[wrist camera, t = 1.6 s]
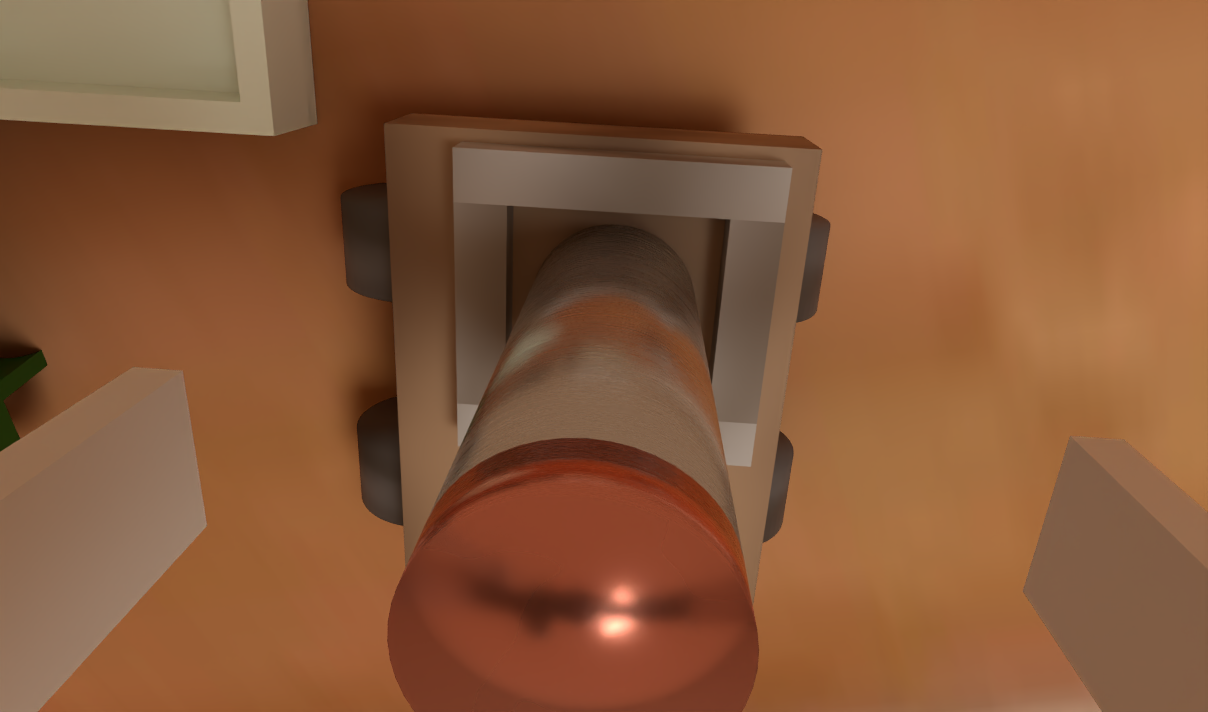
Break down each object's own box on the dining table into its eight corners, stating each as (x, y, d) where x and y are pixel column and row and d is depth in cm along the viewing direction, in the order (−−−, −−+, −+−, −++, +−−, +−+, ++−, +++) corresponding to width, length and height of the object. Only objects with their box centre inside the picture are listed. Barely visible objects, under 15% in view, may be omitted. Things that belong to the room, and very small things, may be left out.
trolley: (389, 506, 29) (321, 632, 23) (365, 98, 24) (269, 122, 18) (763, 533, 29) (795, 668, 22) (825, 125, 23) (888, 159, 17)
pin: (530, 373, 21) (395, 775, 9) (534, 219, 19) (377, 481, 8) (687, 384, 20) (736, 803, 9) (703, 229, 19) (783, 510, 8)
